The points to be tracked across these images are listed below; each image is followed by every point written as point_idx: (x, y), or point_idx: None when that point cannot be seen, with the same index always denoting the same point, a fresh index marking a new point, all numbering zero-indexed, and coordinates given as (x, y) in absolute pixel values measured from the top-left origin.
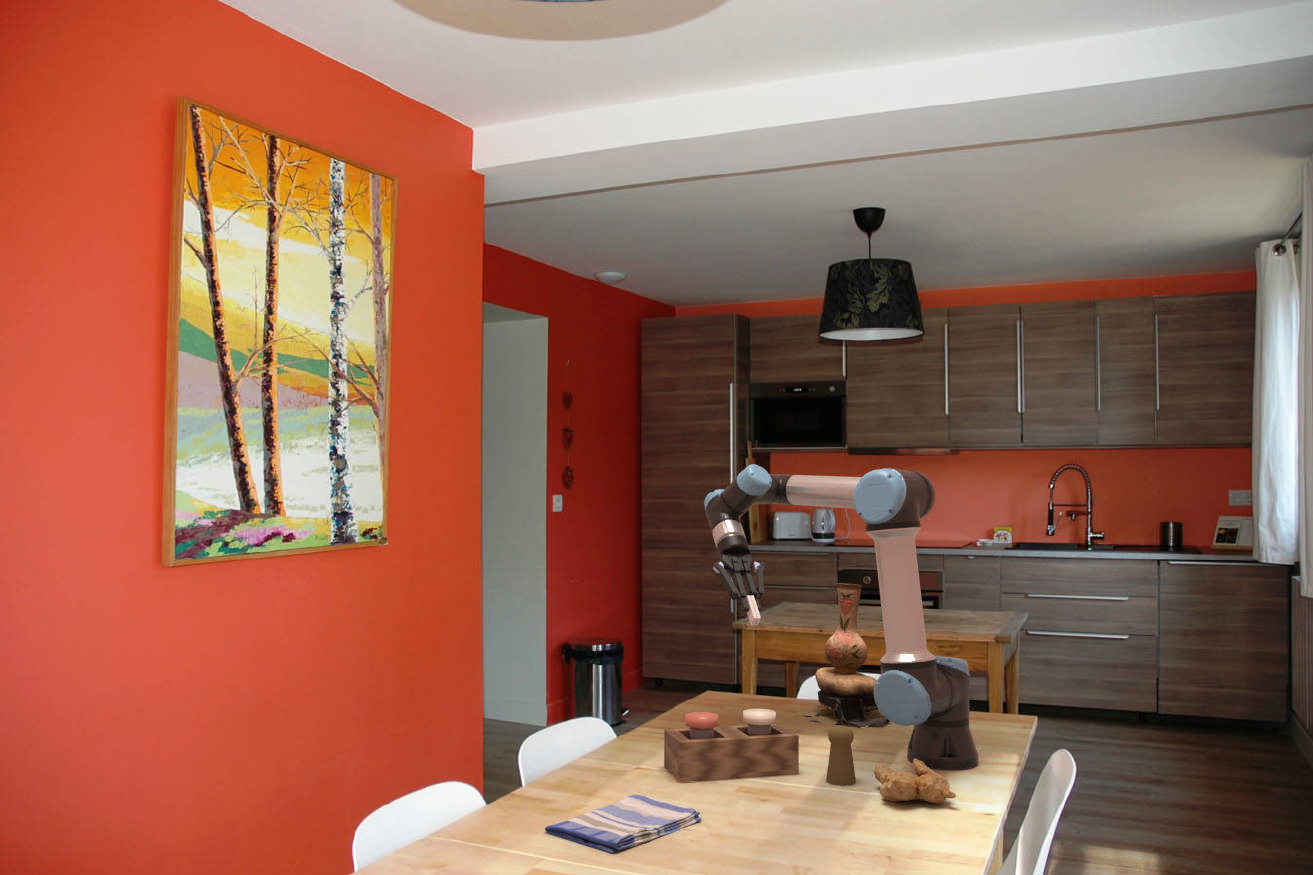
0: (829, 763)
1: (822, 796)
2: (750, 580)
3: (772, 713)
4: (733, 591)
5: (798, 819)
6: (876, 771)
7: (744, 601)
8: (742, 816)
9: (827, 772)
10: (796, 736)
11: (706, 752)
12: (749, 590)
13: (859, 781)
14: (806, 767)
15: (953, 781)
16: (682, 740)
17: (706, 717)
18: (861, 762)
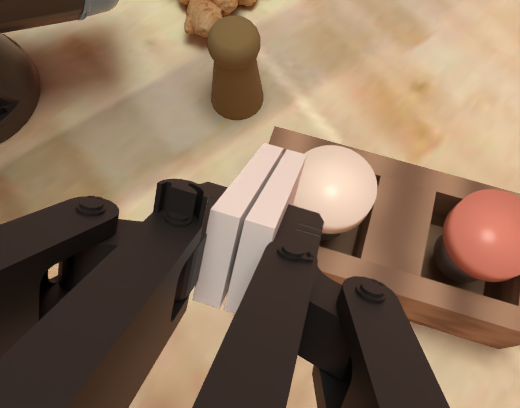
0: (258, 83)
1: (323, 57)
2: (93, 318)
3: (312, 155)
4: (397, 302)
5: (424, 5)
6: (221, 17)
7: (304, 240)
8: (493, 47)
9: (257, 99)
10: (279, 128)
11: None
12: (168, 305)
13: (209, 83)
14: None
15: None
16: None
17: (498, 203)
18: (105, 164)
